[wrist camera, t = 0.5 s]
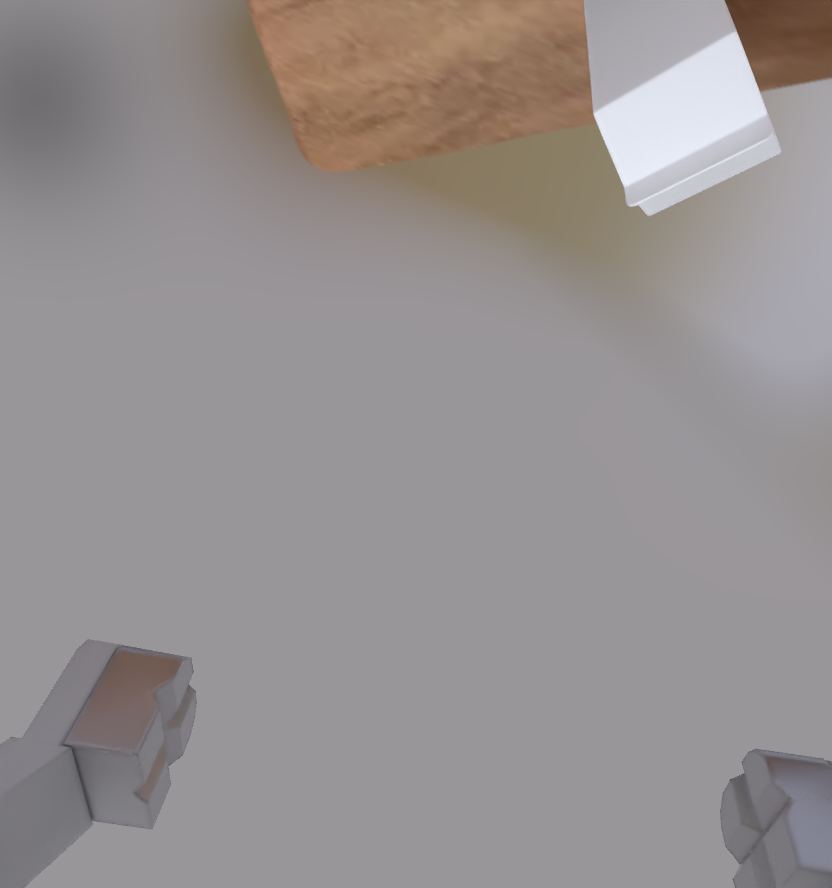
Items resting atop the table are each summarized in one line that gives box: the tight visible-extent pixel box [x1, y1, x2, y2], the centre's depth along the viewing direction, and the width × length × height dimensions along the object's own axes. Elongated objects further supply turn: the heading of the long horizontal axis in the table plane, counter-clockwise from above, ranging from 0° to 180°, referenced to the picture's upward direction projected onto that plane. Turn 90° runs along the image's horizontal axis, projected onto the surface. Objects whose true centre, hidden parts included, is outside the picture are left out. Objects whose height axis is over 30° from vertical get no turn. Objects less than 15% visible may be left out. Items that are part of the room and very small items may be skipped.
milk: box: [584, 0, 781, 216], centre depth 36 cm, size 6×6×22 cm
